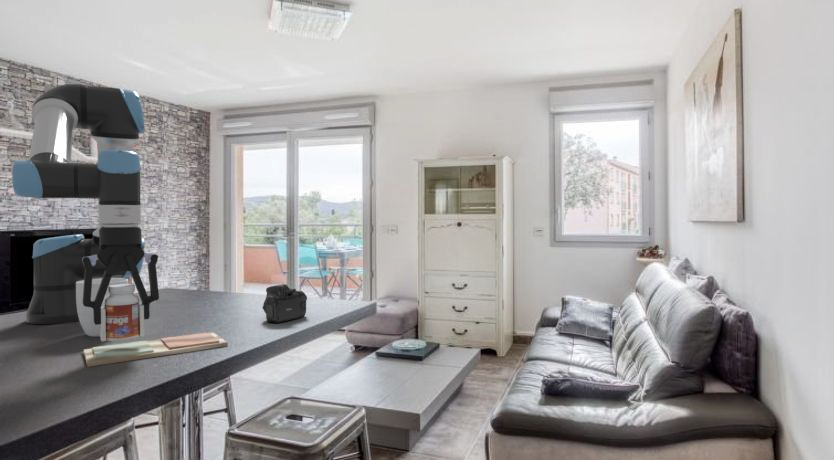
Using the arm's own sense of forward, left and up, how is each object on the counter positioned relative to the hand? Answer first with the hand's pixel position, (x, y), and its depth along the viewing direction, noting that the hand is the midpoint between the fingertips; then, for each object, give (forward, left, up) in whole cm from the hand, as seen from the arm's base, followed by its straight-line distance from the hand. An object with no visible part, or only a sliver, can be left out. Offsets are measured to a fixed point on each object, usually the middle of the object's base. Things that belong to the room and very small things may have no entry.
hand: (122, 337), depth 105 cm
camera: (-14, +40, -4) cm, 43 cm away
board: (0, +7, -4) cm, 7 cm away
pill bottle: (0, 0, -1) cm, 1 cm away
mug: (-23, -1, -4) cm, 23 cm away
